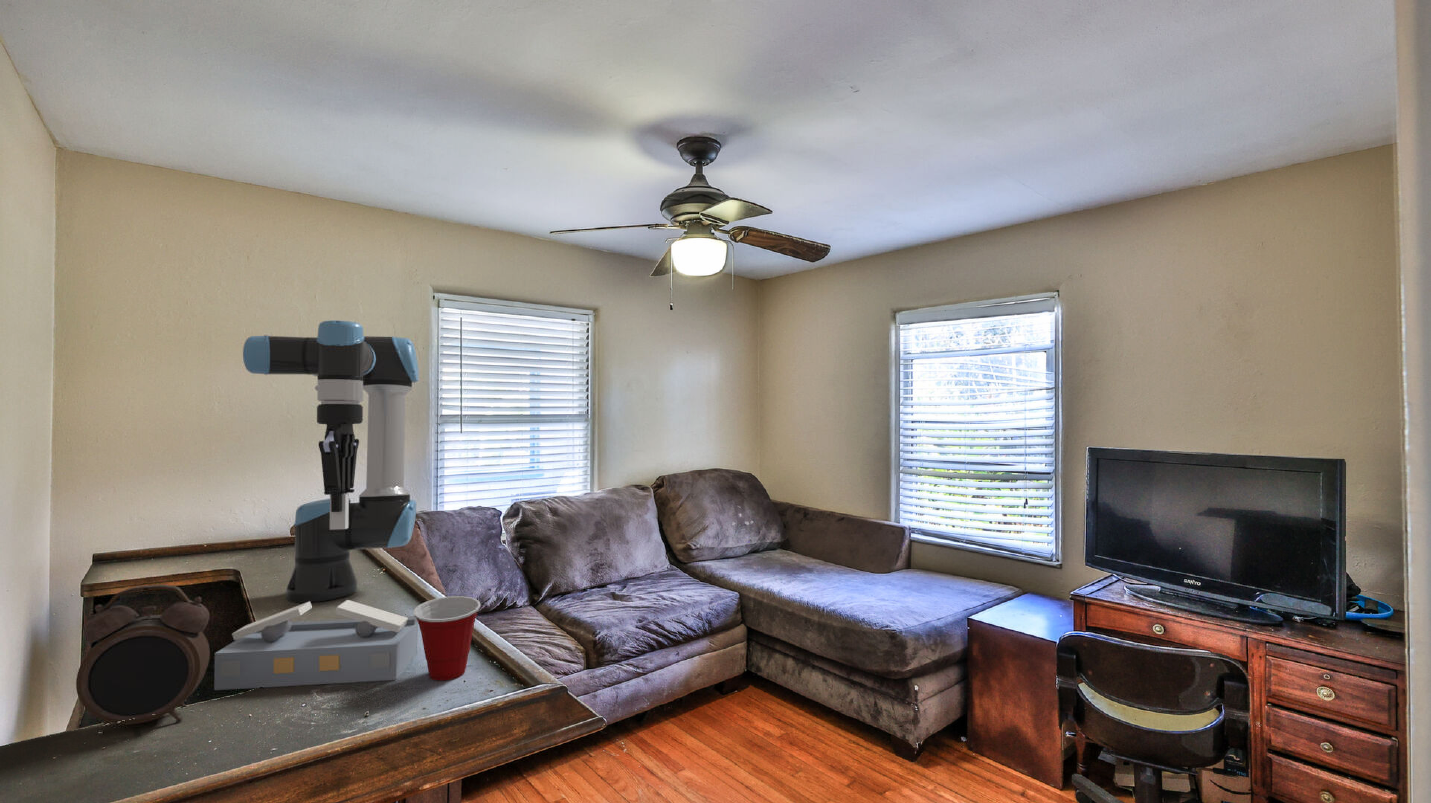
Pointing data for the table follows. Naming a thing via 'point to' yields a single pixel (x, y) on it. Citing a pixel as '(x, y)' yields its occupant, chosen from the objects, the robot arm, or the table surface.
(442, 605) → the plastic cup
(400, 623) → the rocker right
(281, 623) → the rocker left
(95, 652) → the alarm clock
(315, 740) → the table surface
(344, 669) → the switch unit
